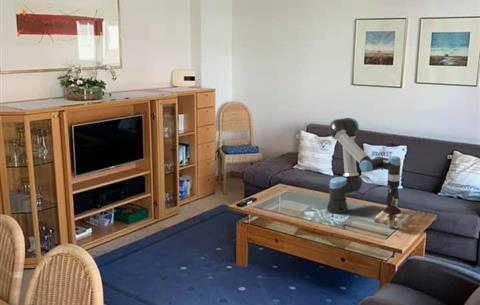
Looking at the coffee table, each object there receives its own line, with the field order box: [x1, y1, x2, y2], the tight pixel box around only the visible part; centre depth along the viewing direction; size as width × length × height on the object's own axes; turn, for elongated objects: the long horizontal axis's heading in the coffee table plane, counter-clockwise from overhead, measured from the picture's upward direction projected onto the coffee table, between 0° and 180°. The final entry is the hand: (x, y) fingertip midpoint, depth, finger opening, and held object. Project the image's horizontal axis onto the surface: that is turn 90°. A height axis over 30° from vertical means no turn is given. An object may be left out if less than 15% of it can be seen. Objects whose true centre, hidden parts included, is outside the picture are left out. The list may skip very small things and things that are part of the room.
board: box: [373, 210, 410, 228], centre depth 330 cm, size 18×18×3 cm
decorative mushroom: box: [382, 205, 402, 229], centre depth 315 cm, size 11×11×15 cm
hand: (392, 211), depth 328 cm, fingers open, 13 cm apart
